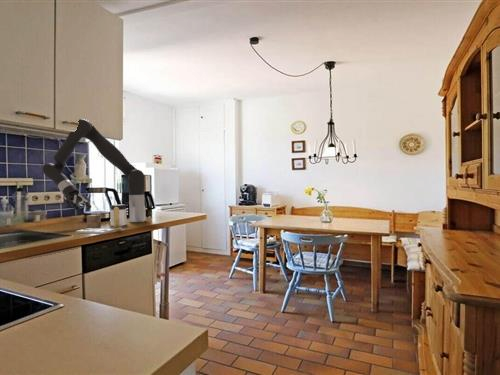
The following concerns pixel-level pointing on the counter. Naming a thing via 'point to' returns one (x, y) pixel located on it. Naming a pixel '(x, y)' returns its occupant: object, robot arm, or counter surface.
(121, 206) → the jar
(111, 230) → the drilled plate
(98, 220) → the walnut block
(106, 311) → the counter surface
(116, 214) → the brass post
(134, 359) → the counter surface
